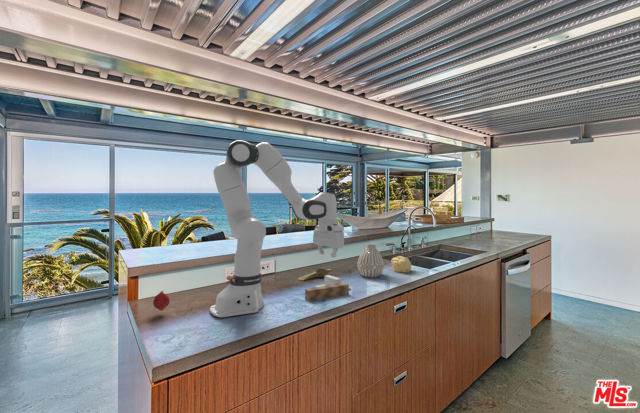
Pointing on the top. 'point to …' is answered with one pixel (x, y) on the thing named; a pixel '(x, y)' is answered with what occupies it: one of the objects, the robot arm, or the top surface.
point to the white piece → (330, 281)
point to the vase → (370, 262)
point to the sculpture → (401, 264)
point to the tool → (315, 274)
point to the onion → (161, 301)
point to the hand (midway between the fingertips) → (327, 255)
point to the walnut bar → (326, 291)
